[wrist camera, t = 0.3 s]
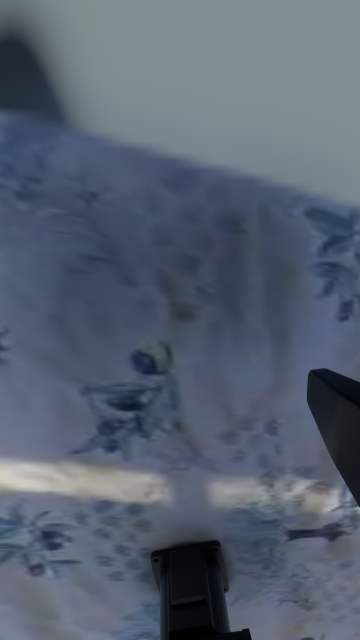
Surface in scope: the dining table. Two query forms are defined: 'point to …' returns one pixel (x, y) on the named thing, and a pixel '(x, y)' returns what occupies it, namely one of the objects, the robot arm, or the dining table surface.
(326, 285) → the dining table surface
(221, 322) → the dining table surface
